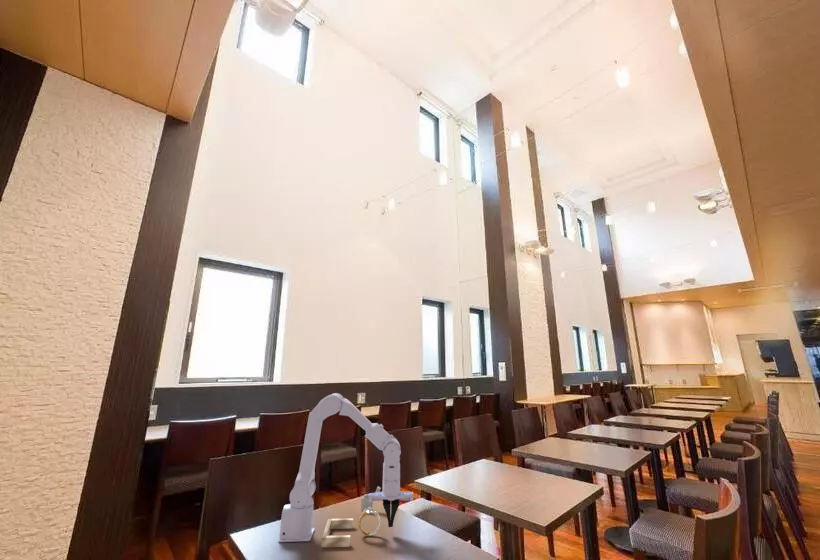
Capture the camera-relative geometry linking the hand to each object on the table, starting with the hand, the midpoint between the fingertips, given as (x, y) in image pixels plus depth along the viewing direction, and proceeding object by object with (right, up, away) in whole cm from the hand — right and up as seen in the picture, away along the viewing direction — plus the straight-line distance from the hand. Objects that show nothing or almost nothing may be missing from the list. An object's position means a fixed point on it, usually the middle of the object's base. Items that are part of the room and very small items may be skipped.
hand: (390, 525), depth 110 cm
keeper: (-16, -2, -2) cm, 16 cm away
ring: (-7, -3, -1) cm, 7 cm away
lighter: (-8, -7, +18) cm, 21 cm away
